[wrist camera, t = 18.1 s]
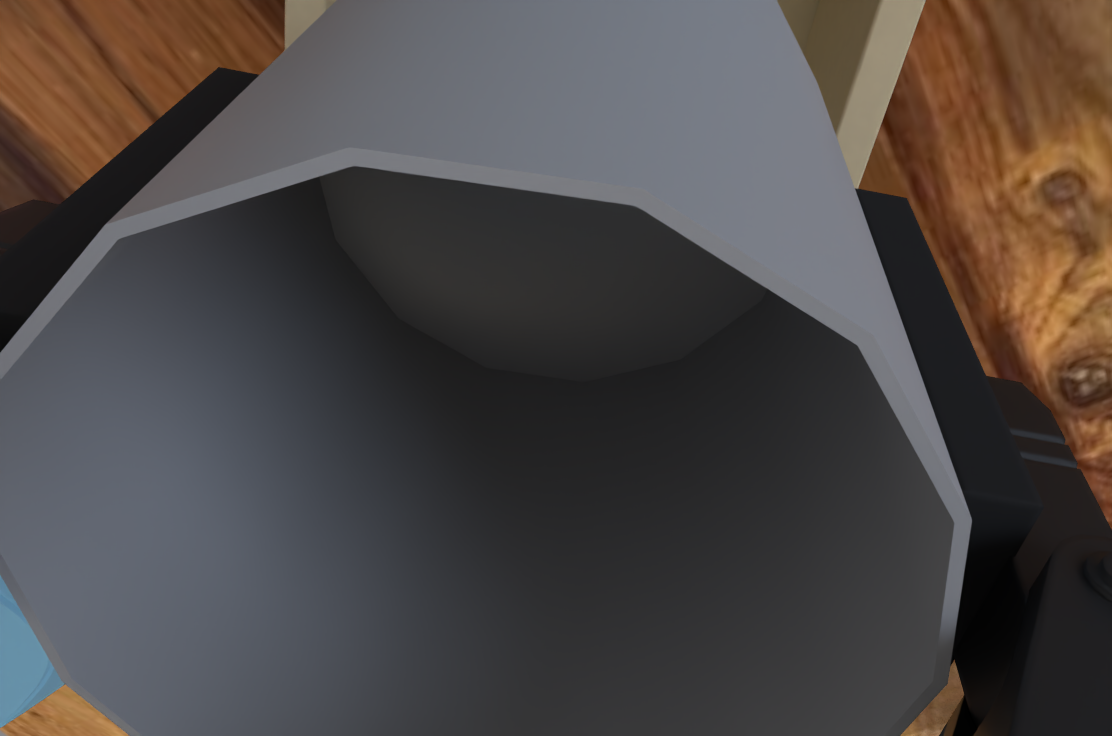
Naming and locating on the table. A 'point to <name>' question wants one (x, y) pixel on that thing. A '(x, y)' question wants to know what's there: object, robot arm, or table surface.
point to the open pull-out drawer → (828, 46)
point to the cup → (490, 400)
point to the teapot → (21, 662)
